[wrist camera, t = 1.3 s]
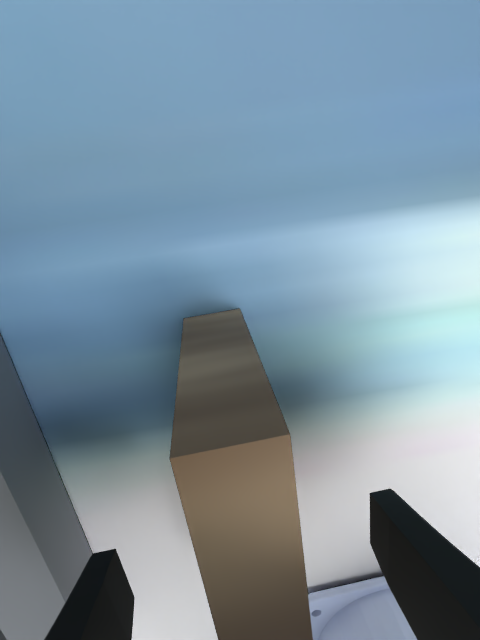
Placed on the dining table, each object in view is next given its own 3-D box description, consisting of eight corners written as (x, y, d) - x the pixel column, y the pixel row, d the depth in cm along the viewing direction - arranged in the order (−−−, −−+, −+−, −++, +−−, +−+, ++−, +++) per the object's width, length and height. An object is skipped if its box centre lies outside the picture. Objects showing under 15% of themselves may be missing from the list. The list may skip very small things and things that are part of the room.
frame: (272, 528, 16) (325, 756, 9) (230, 538, 16) (254, 776, 9) (239, 307, 12) (290, 434, 6) (183, 317, 12) (168, 458, 6)
